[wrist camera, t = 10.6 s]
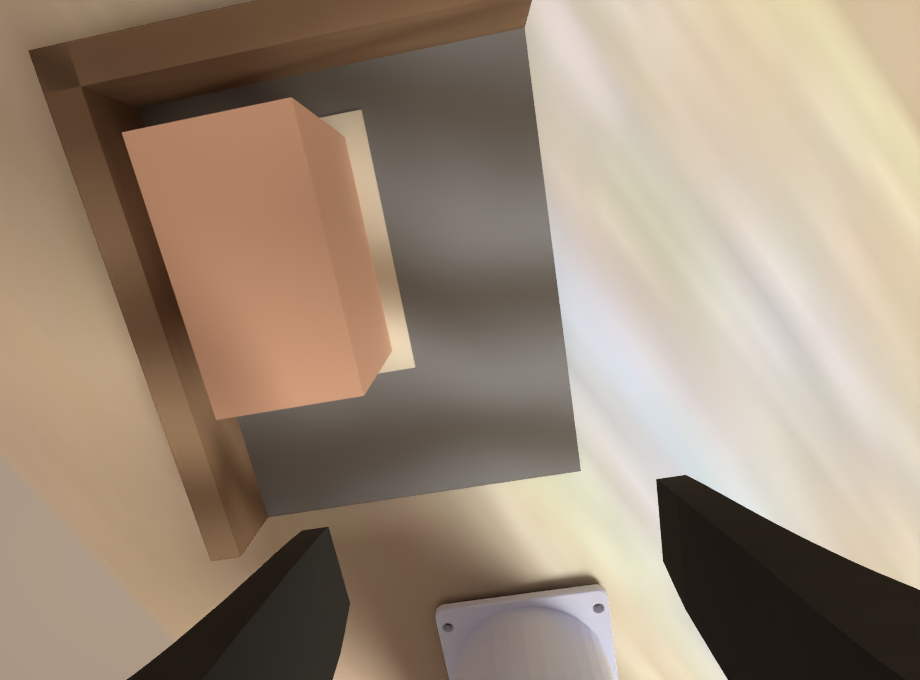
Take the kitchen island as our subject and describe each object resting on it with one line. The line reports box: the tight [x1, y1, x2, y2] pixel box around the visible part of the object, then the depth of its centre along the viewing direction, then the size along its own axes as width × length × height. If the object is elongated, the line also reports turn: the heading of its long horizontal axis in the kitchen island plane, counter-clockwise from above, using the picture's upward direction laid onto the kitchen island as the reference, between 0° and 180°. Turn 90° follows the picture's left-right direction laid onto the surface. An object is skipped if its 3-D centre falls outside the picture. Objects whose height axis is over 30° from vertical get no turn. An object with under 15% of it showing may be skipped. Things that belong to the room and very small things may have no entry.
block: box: [122, 97, 392, 420], centre depth 15 cm, size 4×8×5 cm, turn 10°
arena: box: [29, 0, 581, 561], centre depth 17 cm, size 18×15×3 cm
